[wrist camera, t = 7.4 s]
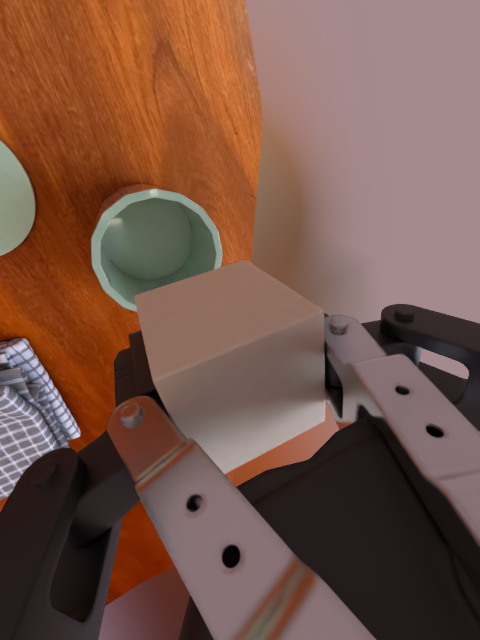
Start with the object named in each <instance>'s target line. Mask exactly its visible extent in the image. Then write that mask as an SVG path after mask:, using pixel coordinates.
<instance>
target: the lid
mask: <svg viewBox="0 0 480 640" xmlns="http://www.w3.org/2000/svg"><path fill="white" fill-rule="evenodd" d="M35 215H36V199H35V194H34V190H33V187H32V184H31V181H30V179H29V177H28V175H27V173H26V171H25V169H24V168H23V166H22V164H21V163H20V161H19V160H18V159H17V157H16V156H15V155H14V153H13V152H12V151H11V150H10V149H9V148H8V147H7V146H6V144H5V143H3V142H2V141H1V140H0V256H2V255H4V254H6V253H8V252H10V251H12V250H13V249H14V248H16V247H17V246H18V245H20V244H21V243H22V242H23V241H24V240H25V238H26V237H27V236H28V234H29V233H30V231H31V229H32V227H33V224H34V221H35Z"/></svg>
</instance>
